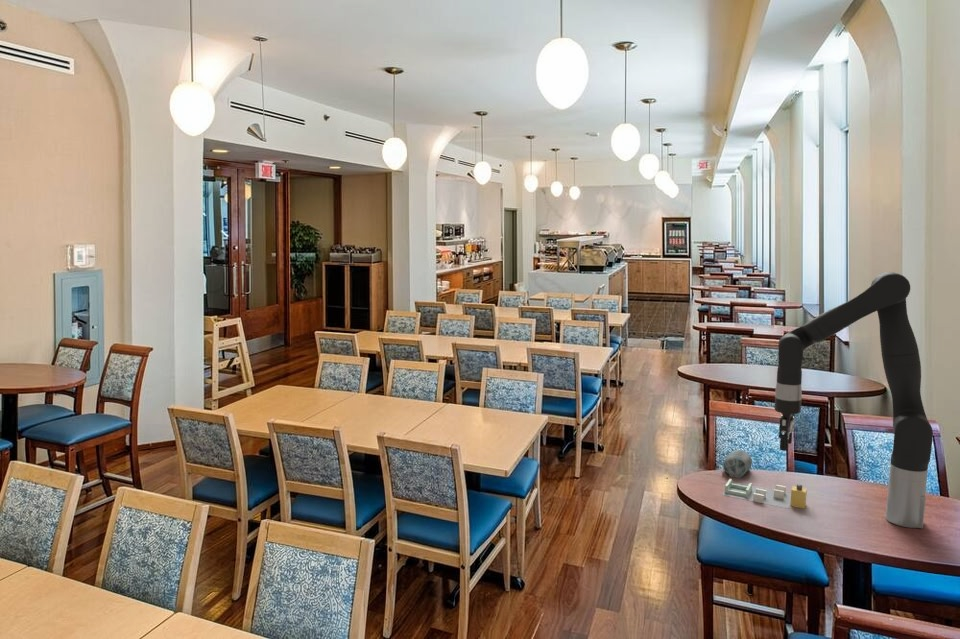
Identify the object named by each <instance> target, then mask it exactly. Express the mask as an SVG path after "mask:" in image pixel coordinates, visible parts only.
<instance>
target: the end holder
mask: <svg viewBox="0 0 960 639" xmlns="http://www.w3.org/2000/svg"><path fill="white" fill-rule="evenodd" d="M732 482H733V479H732V478H729V479H728V480H727V482H726V483H725V487H724V491H725V493H730V494H734V495H739V496H744V497H748V496H749V494H750V493H751V491H752V486H753V483H752V482H749V483H748V484H747V485H748V486H743V485H738V484H733V483H732ZM731 487H734V488H739V489H744V490H746V493H744V492H739V491H734V490H729V489H730V488H731Z"/></svg>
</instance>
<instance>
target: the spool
mask: <svg viewBox="0 0 960 639" xmlns="http://www.w3.org/2000/svg"><path fill="white" fill-rule="evenodd" d="M752 464H753V458H752V457H751V455H750V454H749V453H748V452H747V451H745V450H742V449H736V450H733V451H731V452H729V454H727V456H726V457H725V458H724V460H723V464H722V465H723V466H722V467H723V470H724V471H725V472H726V474H728V476H730V477H732V478H737V479H738V478H743V477H744V475H745V474H746V473H747V472H748V471H749V470H750V468H751V467H752Z"/></svg>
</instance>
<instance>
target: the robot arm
mask: <svg viewBox="0 0 960 639" xmlns="http://www.w3.org/2000/svg"><path fill="white" fill-rule="evenodd" d="M910 293H911V283H910V281H909V280H908V278H907V277H906V276H904V275H903V274H900V273H896V272H893V271H886V272H882V273H879V274H878V275H877V276H875V277H874V278H873V280H872V281H871V284H870V286H869V287H868V288H866V289H865V290H864V291H863V292H861V293H859V294H858V295H856V296H855V297H853V298H851V299H849V300H848V301H846V302H844V303H841V304H839V305H837V306H834V307H832V308H831V309H828V310H827V311H824V312H822V313H821V314H820V315H817V316H816V317H815V318H812V319H811V320H809V321H808V322H806V323H805V324H803V325H801V326H799V327H796V328H795V329H792V330H791V331H789V332H787V333H785V334H783V335H782V336H781V337H780V338H779V341H778V344H777V349H778V350H777V351H778V361H777V362H778V363H777V364H778V367H777V372H776V385H775V391H774V393H775V394H774V411H776V412H777V413H780V414H781V416H780V417H779V421H778V422H779V425H778V426H779V427H778V438H779V439H780V440H779V450H780V451H784V452H788V449H789V448H788V447H789V444H790V445H792V442H793V440H792V439H793V432H794V428H795V420H796V418H795V415H798V414H800V413H801V412H802V396H803V394H802V393H803V391H802V390H803V388H802V382H803V381H802V378H803V377H802V376H803V375H802V374H803V373H802V370H803V369H802V365H803V357H804V356H803V355H804V350H805V349H807V348H808V347H810V346H812V345H814V344H817V343H821V342H824V340H828V339H829V338H831V337H832V336H834V335H836V334H837V333H839V332H840V331H842V330H844V329H846V328H847V327H849V326H851V325H852V324H855V323H856V322H858V321H859V320H861V319H863V318H864V317H867V316H870V315H871V314H873V313H875V312H877V316H878V321H879V322H878V324H879V339H880V340H879V341H880V343H879V344H880V350H881V351H880V353H881V358H882V364H883V369H884V374H885V378H886V381H887V385H888V388H889V391H890V394H891V403H892V427H893V428H892V429H893V431H894V435H893V445H892V446H893V447H892V452H891V456H890V463H889V465H890V466H889V475H888V477H889V478H888V487H887V496H886V497H887V498H886V510H885V519H886V520H887V522H890V523H891V524H894V525H897V526H899V527H904V528H911V529H916V528H917V529H924V518H925V511H926V510H925V508H926V497H927V496H926V490H927V480H928V468H929V464H930V461H931V454H932V447H933V436H934V432H933V431H934V430H933V427H932V426H931V423H930V422H929V419H928V418H927V415H926V412H925V408H924V404H923V399H922V395H921V388H922V387H921V384H922V382H921V381H922V366H921V359H920V352H919V351H920V350H919V346H918V343H917V342H918V341H917V340H916V339H917V338H916V336H915V334H914V330H913V328H912V325H911V323H910V321H909V316H908V310H907V297H909V295H910Z"/></svg>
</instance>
